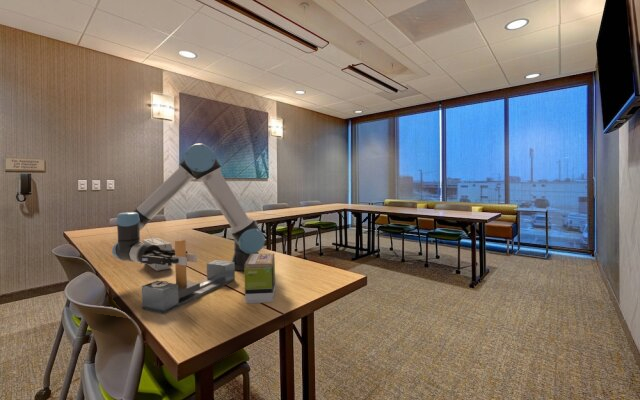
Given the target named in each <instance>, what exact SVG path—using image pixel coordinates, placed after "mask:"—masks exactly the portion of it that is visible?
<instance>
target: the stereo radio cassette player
mask: <svg viewBox="0 0 640 400" xmlns="http://www.w3.org/2000/svg"><path fill="white" fill-rule="evenodd" d="M145 228H146V230H147V233H148V235H149V238H146V239H145V238H144V239H142V243H144V244H152V245H157V246H158V247H159V248H160V249H164V250H170V249H173V245H172V243H171V242H168V241H166V240H164V239H162V238H159V237H152V234H151V233H150V232H149V229H148V228H147V227H145ZM147 266H148V267H150V268H152V269H153V270H154V271H156V272H159V271H164V270H170V269H171V268H172V267H173V264H172V263H171V266H168V263H166V264H165V265H161V264H147Z"/></svg>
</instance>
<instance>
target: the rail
mask: <svg viewBox="0 0 640 400" xmlns="http://www.w3.org/2000/svg"><path fill="white" fill-rule="evenodd" d="M235 272H236V270H235V262H232V261H228V260H227V261H226V260H219V259H215V260H212V261H210V262H207V263H206V278H205V279H203V280H201V281H198V282H197V283H200V289H199V290H197V291H195V292H193V293H190V294H188V295H186V296H184V297H181V298H178V284H176V283H172V282H169V281H168V280H156V281H152V282H149V283H147V284H144V285H142V286H141V302H142V307H141V308H142V310H145V311H148V312H149V311H150V312H153V313H158V314H162V315H165V314H167V313H169V312H171V311H174V310H175V309H178V308H179V307H180V308H181V307H182V306H185V305H186V304H188V303H190V302H192V301H194V300H196V299H199V298H200V297H203V296H205V295H208V294H209V293H212V292H213V291H215V290H217V289H220V288H221V287H223V286H225V285H227V284H229V283H232V282H234V281H235V280H236V275H235V274H236V273H235Z"/></svg>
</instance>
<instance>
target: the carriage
mask: <svg viewBox="0 0 640 400" xmlns="http://www.w3.org/2000/svg"><path fill="white" fill-rule="evenodd" d="M186 242H187V241H186V239H176V240H174V249H175V256H180V257H186V250H187V249H186V248H187V247H186V245H187V244H186ZM174 265H175V266H174V267H175V284H178V298H181V297H184V296H186V295H188V294H190V293H193V292H195V291H197V290H199V289H200V283H198V282H196V281H191V280H187V278H188V277H187V265H179V264H174Z"/></svg>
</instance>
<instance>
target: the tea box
mask: <svg viewBox="0 0 640 400" xmlns="http://www.w3.org/2000/svg"><path fill="white" fill-rule="evenodd" d="M275 258H276V257H275V252H269V253H268V252H267V253H259V254H250V256H249V258H248V259H247V261H246V263H245V264H244V270H243V271H244V298H245V303H246V304H264V302H270V303H273V302H274V296H275V293H276V292H275V291H276V266H275V265H276V264H275V263H276V262H275Z"/></svg>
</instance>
